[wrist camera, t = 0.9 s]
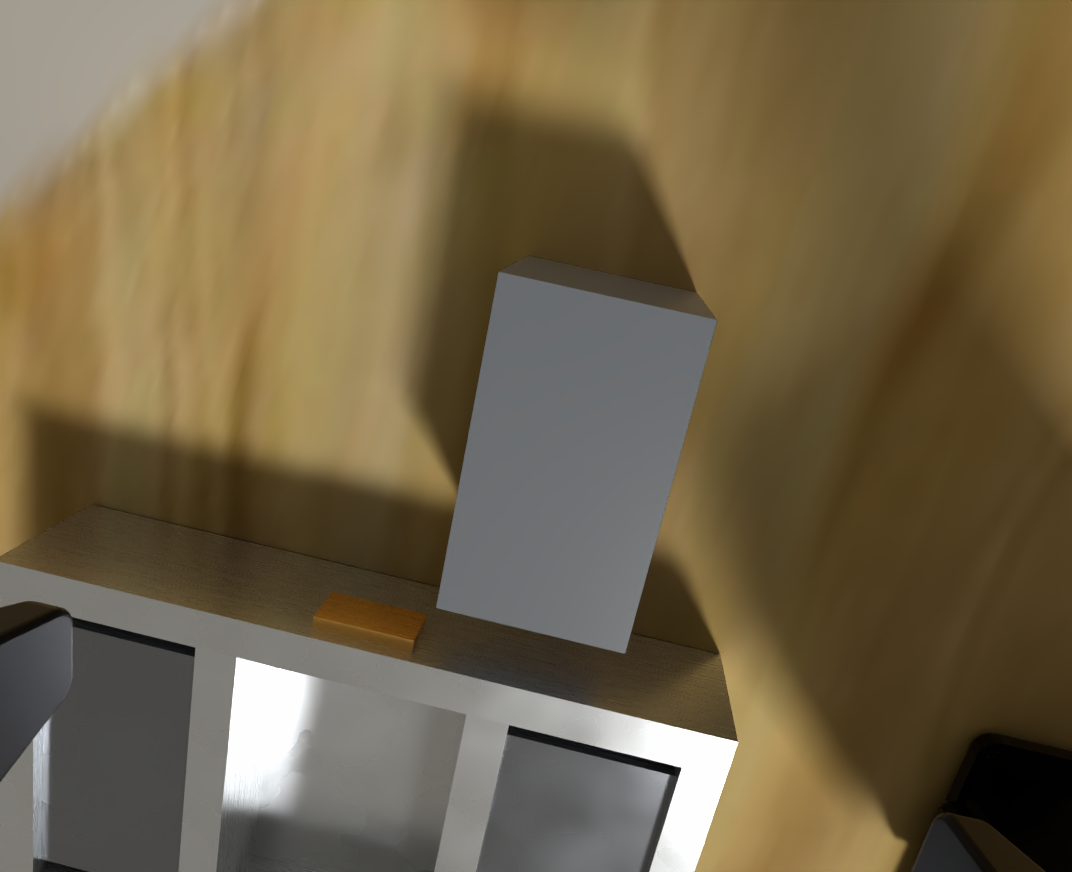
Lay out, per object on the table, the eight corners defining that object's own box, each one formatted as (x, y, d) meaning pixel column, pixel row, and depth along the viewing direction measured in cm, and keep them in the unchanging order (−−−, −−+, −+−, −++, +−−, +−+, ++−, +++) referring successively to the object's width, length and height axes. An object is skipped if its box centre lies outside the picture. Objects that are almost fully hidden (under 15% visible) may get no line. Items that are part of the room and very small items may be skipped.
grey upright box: (696, 291, 18) (717, 320, 14) (625, 558, 20) (625, 653, 16) (528, 255, 18) (498, 271, 14) (476, 522, 20) (436, 607, 16)
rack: (723, 645, 20) (741, 731, 17) (627, 947, 24) (627, 1069, 20) (92, 494, 21) (-8, 548, 18) (83, 806, 25) (-2, 900, 21)
